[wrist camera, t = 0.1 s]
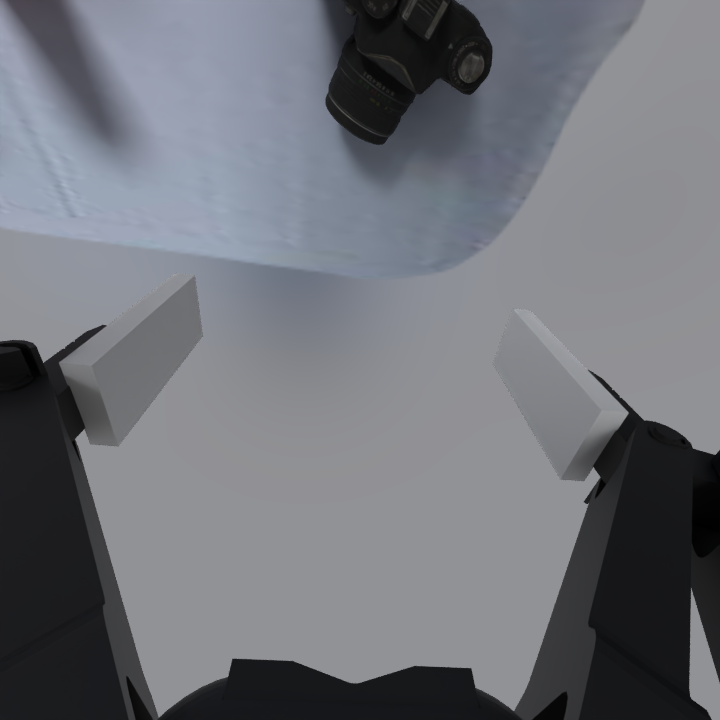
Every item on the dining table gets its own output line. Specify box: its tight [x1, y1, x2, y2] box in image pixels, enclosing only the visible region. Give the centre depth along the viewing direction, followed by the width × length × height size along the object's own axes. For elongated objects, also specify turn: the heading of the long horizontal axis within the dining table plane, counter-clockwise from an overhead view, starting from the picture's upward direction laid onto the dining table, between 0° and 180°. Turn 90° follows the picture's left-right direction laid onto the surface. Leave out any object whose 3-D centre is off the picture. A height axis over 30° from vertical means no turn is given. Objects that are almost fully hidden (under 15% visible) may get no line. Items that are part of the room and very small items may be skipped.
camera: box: [326, 0, 492, 145], centre depth 26 cm, size 14×11×10 cm
